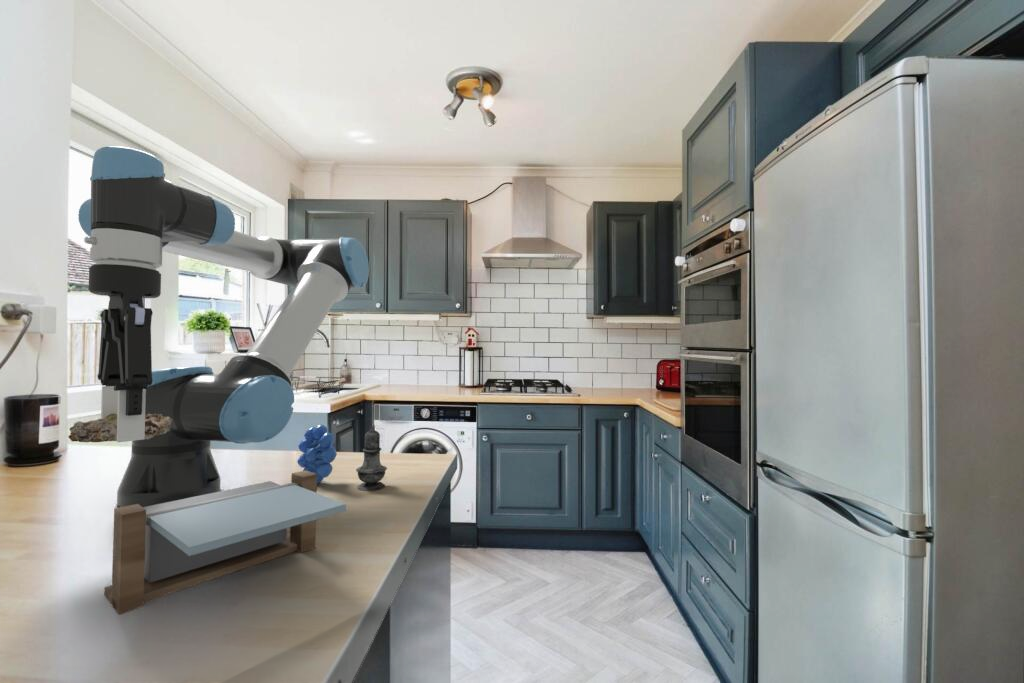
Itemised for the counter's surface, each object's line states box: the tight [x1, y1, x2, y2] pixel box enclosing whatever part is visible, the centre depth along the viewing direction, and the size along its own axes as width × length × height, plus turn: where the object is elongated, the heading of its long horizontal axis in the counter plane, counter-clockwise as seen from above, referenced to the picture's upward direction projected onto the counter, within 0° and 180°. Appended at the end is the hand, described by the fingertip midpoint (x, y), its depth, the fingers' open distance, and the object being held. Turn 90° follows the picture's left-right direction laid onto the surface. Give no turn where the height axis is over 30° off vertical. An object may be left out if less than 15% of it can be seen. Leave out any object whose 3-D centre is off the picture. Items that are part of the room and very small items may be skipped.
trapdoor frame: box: [103, 470, 318, 615], centre depth 58 cm, size 6×21×10 cm, turn 142°
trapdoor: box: [143, 480, 347, 583], centre depth 55 cm, size 18×16×8 cm
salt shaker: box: [355, 425, 388, 492], centre depth 93 cm, size 6×6×12 cm
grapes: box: [296, 424, 338, 485], centre depth 95 cm, size 12×7×12 cm, turn 53°
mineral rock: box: [68, 413, 172, 443], centre depth 64 cm, size 11×4×8 cm
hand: (121, 436), depth 63 cm, fingers closed on mineral rock, 8 cm apart
